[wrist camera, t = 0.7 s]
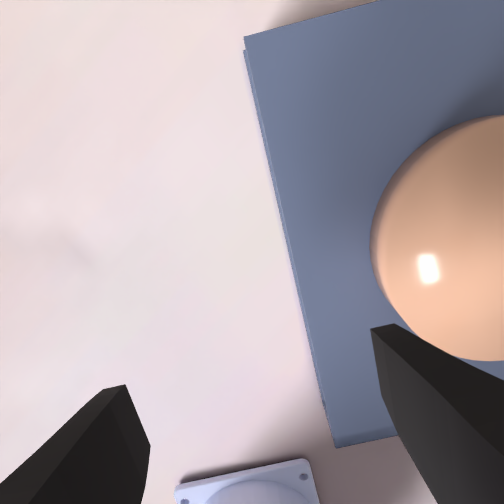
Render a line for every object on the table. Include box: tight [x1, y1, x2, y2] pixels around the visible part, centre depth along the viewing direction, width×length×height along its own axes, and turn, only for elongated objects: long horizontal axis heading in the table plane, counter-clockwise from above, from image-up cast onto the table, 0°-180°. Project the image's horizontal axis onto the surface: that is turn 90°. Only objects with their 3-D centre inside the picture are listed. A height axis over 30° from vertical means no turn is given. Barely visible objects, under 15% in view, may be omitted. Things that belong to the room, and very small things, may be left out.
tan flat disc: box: [369, 115, 504, 361], centre depth 15 cm, size 9×9×2 cm
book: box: [243, 0, 504, 448], centre depth 17 cm, size 18×13×3 cm
